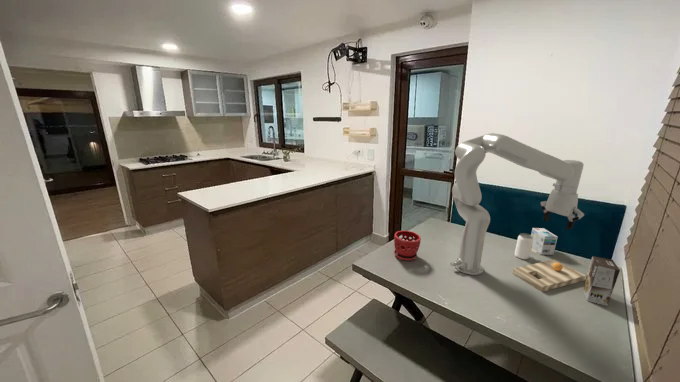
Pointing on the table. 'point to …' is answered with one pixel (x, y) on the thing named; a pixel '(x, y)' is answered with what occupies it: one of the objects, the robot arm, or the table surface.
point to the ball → (557, 266)
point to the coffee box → (600, 280)
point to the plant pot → (406, 245)
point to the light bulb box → (543, 241)
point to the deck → (548, 275)
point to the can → (524, 246)
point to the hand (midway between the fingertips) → (556, 224)
